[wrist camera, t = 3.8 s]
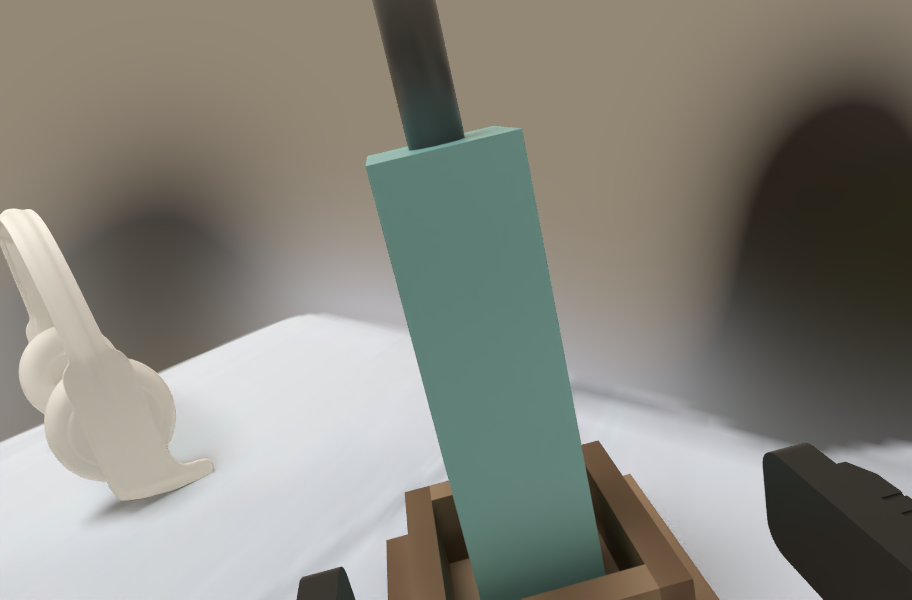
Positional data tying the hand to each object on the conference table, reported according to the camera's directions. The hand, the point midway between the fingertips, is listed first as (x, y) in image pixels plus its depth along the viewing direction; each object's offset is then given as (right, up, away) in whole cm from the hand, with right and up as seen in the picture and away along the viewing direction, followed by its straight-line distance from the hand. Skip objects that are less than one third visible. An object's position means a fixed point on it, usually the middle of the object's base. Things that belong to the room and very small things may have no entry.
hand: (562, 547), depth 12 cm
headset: (-25, -7, +33) cm, 42 cm away
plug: (+1, -6, +11) cm, 12 cm away
